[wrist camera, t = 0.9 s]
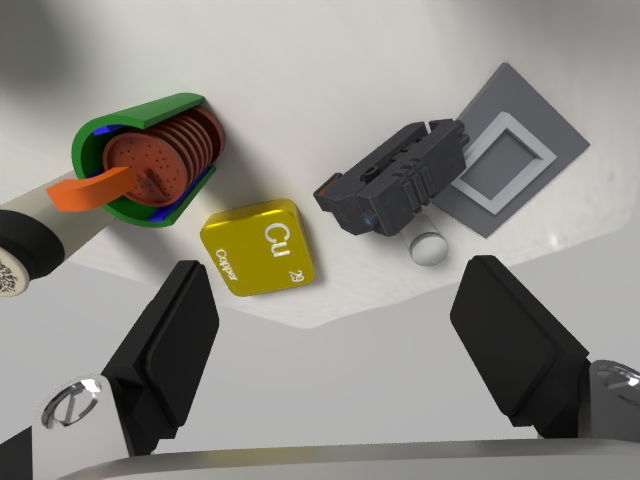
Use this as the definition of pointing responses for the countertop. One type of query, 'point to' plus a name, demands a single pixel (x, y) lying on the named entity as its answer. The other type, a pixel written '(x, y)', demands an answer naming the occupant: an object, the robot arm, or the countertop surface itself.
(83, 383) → the robot arm
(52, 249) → the travel mug
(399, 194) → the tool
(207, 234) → the element tile
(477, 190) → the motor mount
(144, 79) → the countertop surface
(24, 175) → the countertop surface
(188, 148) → the motor
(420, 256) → the white domed cylinder
